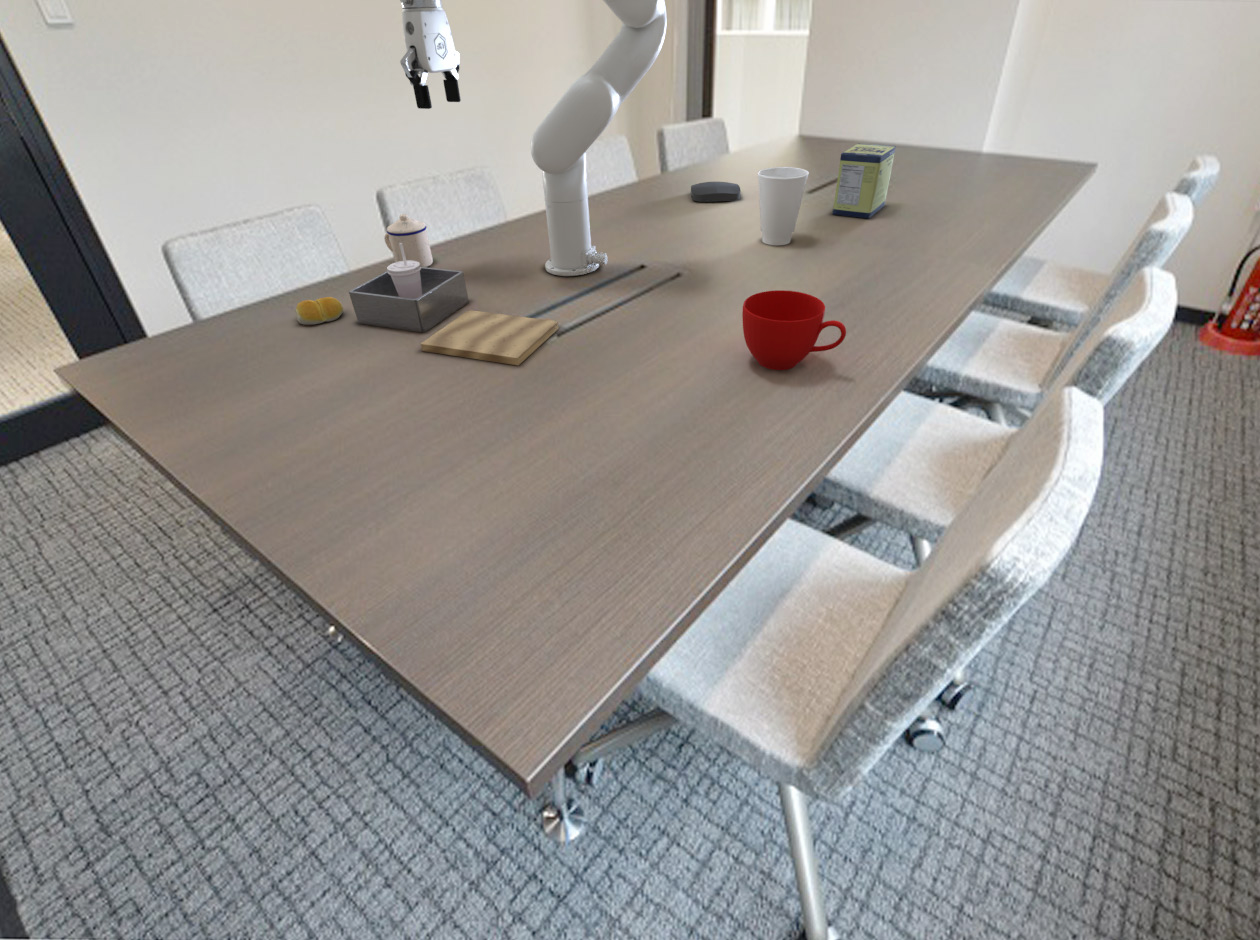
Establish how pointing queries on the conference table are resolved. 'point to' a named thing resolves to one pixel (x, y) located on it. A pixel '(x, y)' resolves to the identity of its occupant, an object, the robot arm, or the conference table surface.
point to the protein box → (863, 180)
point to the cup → (780, 202)
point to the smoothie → (406, 277)
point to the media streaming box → (715, 191)
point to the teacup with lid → (409, 240)
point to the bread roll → (318, 310)
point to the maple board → (491, 337)
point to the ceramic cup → (785, 327)
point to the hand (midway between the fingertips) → (439, 104)
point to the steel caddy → (410, 300)
